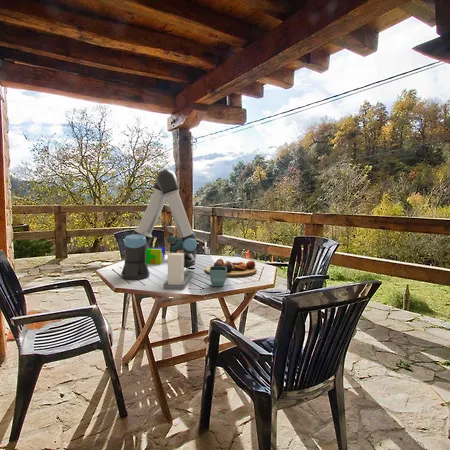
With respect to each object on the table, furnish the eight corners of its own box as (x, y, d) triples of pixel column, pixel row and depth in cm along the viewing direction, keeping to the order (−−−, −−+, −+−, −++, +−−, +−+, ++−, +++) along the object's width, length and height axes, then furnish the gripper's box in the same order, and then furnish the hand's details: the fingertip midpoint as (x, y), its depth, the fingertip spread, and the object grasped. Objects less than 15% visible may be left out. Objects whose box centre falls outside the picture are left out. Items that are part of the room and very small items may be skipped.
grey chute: (163, 288, 157) (163, 283, 156) (174, 276, 180) (174, 272, 180) (183, 289, 156) (184, 284, 156) (192, 277, 180) (192, 272, 180)
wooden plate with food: (261, 268, 208) (261, 256, 207) (249, 279, 177) (249, 265, 177) (215, 265, 217) (215, 253, 217) (197, 275, 187) (196, 261, 186)
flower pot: (226, 283, 169) (226, 266, 169) (226, 287, 161) (226, 270, 160) (209, 282, 169) (209, 266, 168) (209, 287, 160) (209, 270, 160)
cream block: (167, 284, 158) (167, 254, 157) (170, 281, 164) (170, 252, 163) (181, 285, 158) (181, 255, 157) (183, 281, 164) (184, 253, 163)
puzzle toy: (164, 261, 224) (164, 247, 223) (160, 264, 214) (160, 249, 213) (150, 261, 225) (150, 247, 224) (145, 263, 215) (145, 249, 214)
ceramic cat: (167, 259, 233) (167, 232, 231) (169, 257, 239) (169, 231, 237) (193, 260, 230) (193, 232, 229) (195, 258, 237) (195, 232, 235)
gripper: (197, 266, 187) (190, 276, 164) (175, 265, 188) (165, 275, 164) (197, 253, 186) (190, 261, 163) (175, 253, 187) (165, 261, 164)
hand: (178, 268), depth 164 cm, fingers closed
